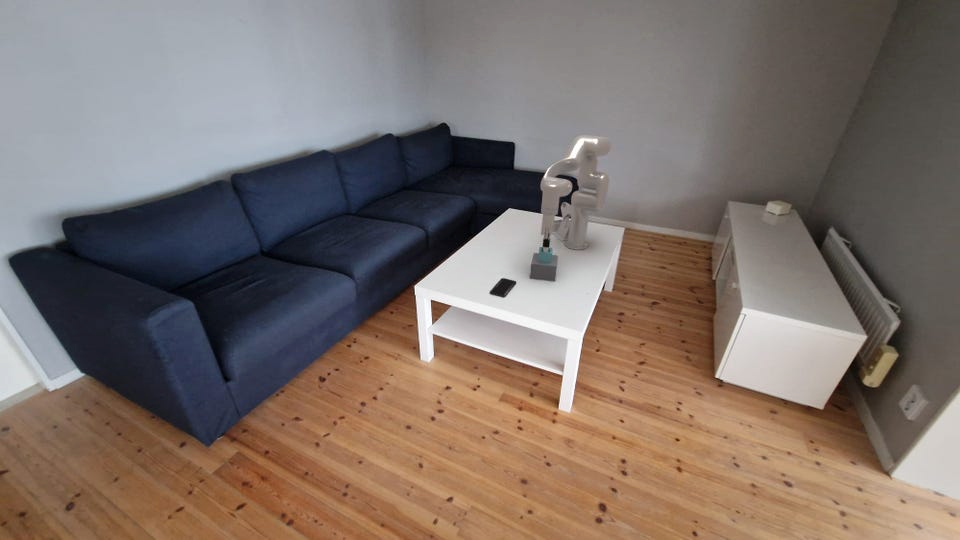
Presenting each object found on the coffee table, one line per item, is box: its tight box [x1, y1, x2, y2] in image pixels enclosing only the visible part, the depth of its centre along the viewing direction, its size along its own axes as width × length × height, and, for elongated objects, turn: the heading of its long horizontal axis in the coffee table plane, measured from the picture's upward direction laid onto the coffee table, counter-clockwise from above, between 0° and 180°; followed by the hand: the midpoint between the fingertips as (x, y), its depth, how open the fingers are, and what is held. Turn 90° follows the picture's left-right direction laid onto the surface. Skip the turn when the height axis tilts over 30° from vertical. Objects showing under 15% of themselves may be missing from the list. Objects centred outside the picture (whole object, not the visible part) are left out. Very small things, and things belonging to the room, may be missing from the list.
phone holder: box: [551, 201, 572, 242], centre depth 232 cm, size 17×10×18 cm, turn 17°
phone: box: [489, 277, 517, 298], centre depth 181 cm, size 8×1×15 cm
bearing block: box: [529, 252, 559, 282], centre depth 191 cm, size 12×12×8 cm
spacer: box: [537, 246, 554, 263], centre depth 188 cm, size 6×6×5 cm
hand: (546, 246), depth 186 cm, fingers closed
